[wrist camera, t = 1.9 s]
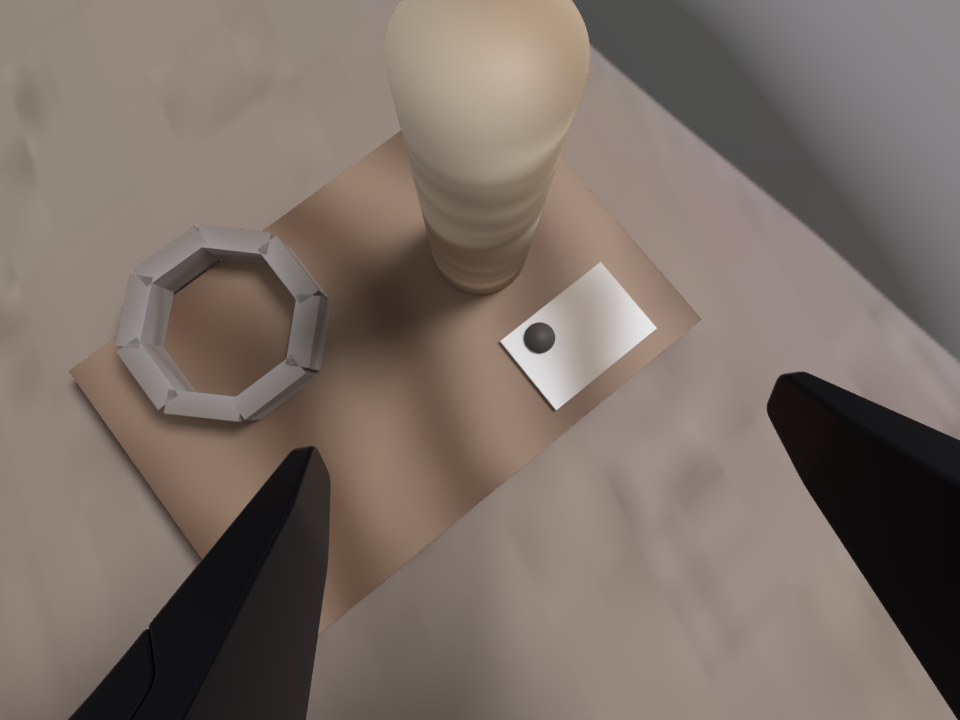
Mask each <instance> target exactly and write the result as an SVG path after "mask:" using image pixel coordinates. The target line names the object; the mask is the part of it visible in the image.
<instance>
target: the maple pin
mask: <svg viewBox="0 0 960 720" xmlns="http://www.w3.org/2000/svg"><path fill="white" fill-rule="evenodd" d="M384 58H385V67H386V72H387V76H388V80H389V84H390V88H391V92H392V96H393V100H394V104H395V108H396V112H397V116H398V120H399V124H400V128H401V132H402V136H403V140H404V144H405V148H406V152H407V156H408V160H409V163H410V167H411V171H412V175H413V179H414V183H415V187H416V191H417V195H418V199H419V203H420V207H421V211H422V215H423V219H424V223H425V227H426V231H427V235H428V239H429V243H430V247H431V251H432V255H433V258H434V262H435V265H436V268H437V270H438V272H439V273H440V275H441V276H442V278H443V279H444V280H445V281H446V282H447V283H448V284H449V285H451V286H452V287H454V288H455V289H457V290H459V291H461V292H464V293H467V294H471V295H489V294H493V293H496V292H499V291H501V290H503V289H505V288H506V287H508V286H509V285H510V284H511V283H512V282H514V280H515V279H516V278H517V277H518V275H519V274H520V272H521V270H522V268H523V266H524V263H525V260H526V257H527V254H528V251H529V248H530V246H531V243H532V240H533V237H534V234H535V231H536V228H537V225H538V222H539V219H540V216H541V213H542V210H543V207H544V204H545V201H546V198H547V195H548V192H549V189H550V186H551V183H552V181H553V178H554V175H555V172H556V169H557V166H558V163H559V160H560V157H561V154H562V151H563V148H564V145H565V142H566V139H567V136H568V133H569V130H570V127H571V124H572V121H573V118H574V115H575V113H576V110H577V107H578V104H579V101H580V98H581V95H582V92H583V89H584V86H585V83H586V80H587V76H588V72H589V66H590V45H589V37H588V34H587V30H586V26H585V24H584V22H583V19H582V17H581V15H580V13H579V11H578V9H577V8H576V6H575V4H574V3H573V2H572V1H571V0H401V2H400V3H399V4H398V6H397V8H396V10H395V11H394V13H393V15H392V17H391V20H390V23H389V25H388V28H387V33H386V37H385V46H384Z"/></svg>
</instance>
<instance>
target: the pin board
mask: <svg viewBox="0 0 960 720" xmlns="http://www.w3.org/2000/svg"><path fill="white" fill-rule="evenodd" d="M219 259H223V260H222V261H220V262H219V263H217V264H216V265H215V266H213V267H212V268H211V269H209V270H208V271H206V272H205V273H204V274H202V275H201V276H200V277H198V278H197V279H195V280H194V281H193V282H191V283H190V284H188V285H187V286H186V287H184V288H183V289H182V290H180V291H179V292H177V293H176V294H175V295H174V292H175V291H177V290H178V289H179V288H181V287H182V286H184V285H185V284H186V283H188V282H189V281H190V280H192V279H193V278H195V277H196V276H197V275H199V274H200V273H202V272H203V271H204V270H206V269H207V268H208V267H210V266H211V265H213V264H214V263H215V262H217V261H218V260H219ZM134 271H135V272H136V273H137V275H130V276H129V280H128V285H127V290H126V295H125V300H124V304H123V309H122V314H121V319H120V324H119V328H118V333H117V337H115V338H114V339H112V340H111V341H110V342H108V343H107V344H106V345H104V346H103V347H101V348H100V349H99V350H97V351H96V352H94V353H93V354H92V355H90V356H89V357H88V358H86V359H85V360H83V361H82V362H81V363H79V364H78V365H77V366H75V367H74V368H72V369H71V370H70V371H69V372H70V374H71V375H72V377H73V378H74V379H75V381H76V382H77V384H78V385H79V386H80V388H81V389H82V391H83V392H84V393H85V395H86V396H87V398H88V399H89V401H90V402H91V403H92V405H93V406H94V408H95V409H96V410H97V412H98V413H99V415H100V416H101V418H102V419H103V420H104V422H105V423H106V425H107V426H108V427H109V429H110V430H111V432H112V433H113V435H114V436H115V437H116V439H117V440H118V442H119V443H120V444H121V446H122V447H123V449H124V450H125V452H126V453H127V454H128V456H129V457H130V459H131V460H132V461H133V463H134V464H135V466H136V467H137V469H138V470H139V471H140V473H141V474H142V476H143V477H144V478H145V480H146V481H147V483H148V484H149V485H150V487H151V488H152V490H153V491H154V493H155V494H156V495H157V497H158V498H159V500H160V501H161V502H162V504H163V505H164V507H165V508H166V510H167V511H168V512H169V514H170V515H171V517H172V518H173V519H174V521H175V522H176V524H177V525H178V527H179V528H180V529H181V531H182V532H183V534H184V535H185V536H186V538H187V539H188V541H189V542H190V544H191V545H192V546H193V548H194V549H195V551H196V552H197V553H198V555H199V556H200V558H201V559H203V558H204V557H205V556H206V554H207V553H208V552H209V551H210V549H211V548H212V547H213V546H214V544H215V543H216V542H217V541H218V540H219V538H220V537H221V536H222V535H223V533H224V532H225V531H226V530H227V529H228V527H229V526H230V525H231V524H232V522H233V521H234V520H235V519H236V518H237V516H238V515H239V514H240V513H241V511H242V510H243V509H244V508H245V506H246V505H247V504H248V503H249V502H250V500H251V499H252V498H253V497H254V495H255V494H256V493H257V492H258V491H259V489H260V488H261V487H262V486H263V484H264V483H265V482H266V481H267V479H268V478H269V477H270V476H271V475H272V473H273V472H274V471H275V470H276V468H277V467H278V466H279V465H280V464H281V462H282V461H283V460H284V459H285V457H286V456H287V455H288V454H289V453H290V451H292V450H293V449H295V448H301V447H307V446H315V447H316V448H317V449H318V450H319V452H320V455H321V457H322V459H323V461H324V463H325V465H326V467H327V469H328V472H329V475H330V480H331V494H330V530H329V558H328V568H327V576H326V583H325V589H324V596H323V603H322V610H321V617H320V624H319V631H318V635H319V634H320V633H321V632H323V631H324V630H325V629H326V628H327V627H329V626H330V625H331V624H332V623H333V622H335V621H336V620H337V619H338V618H340V617H341V616H342V615H343V614H344V613H346V612H347V611H348V610H349V609H350V608H352V607H353V606H354V605H355V604H357V603H358V602H359V601H360V600H361V599H363V598H364V597H365V596H366V595H367V594H369V593H370V592H371V591H372V590H374V589H375V588H376V587H377V586H378V585H380V584H381V583H382V582H383V581H384V580H386V579H387V578H388V577H389V576H391V575H392V574H393V573H394V572H395V571H397V570H398V569H399V568H400V567H401V566H403V565H404V564H405V563H406V562H408V561H409V560H410V559H411V558H412V557H414V556H415V555H416V554H417V553H418V552H420V551H421V550H422V549H423V548H425V547H426V546H427V545H428V544H429V543H431V542H432V541H433V540H434V539H435V538H437V537H438V536H439V535H440V534H442V533H443V532H444V531H445V530H446V529H448V528H449V527H450V526H451V525H452V524H454V523H455V522H456V521H457V520H459V519H460V518H461V517H462V516H463V515H465V514H466V513H467V512H468V511H469V510H471V509H472V508H473V507H474V506H476V505H477V504H478V503H479V502H480V501H482V500H483V499H484V498H485V497H486V496H488V495H489V494H490V493H491V492H493V491H494V490H495V489H496V488H497V487H499V486H500V485H501V484H502V483H503V482H505V481H506V480H507V479H508V478H510V477H511V476H512V475H513V474H514V473H516V472H517V471H518V470H519V469H520V468H522V467H523V466H524V465H525V464H527V463H528V462H529V461H530V460H531V459H533V458H534V457H535V456H536V455H537V454H539V453H540V452H541V451H542V450H544V449H545V448H546V447H547V446H548V445H550V444H551V443H552V442H553V441H554V440H556V439H557V438H558V437H559V436H561V435H562V434H563V433H564V432H565V431H567V430H568V429H569V428H570V427H571V426H573V425H574V424H575V423H576V422H578V421H579V420H580V419H581V418H582V417H584V416H585V415H586V414H587V413H588V412H590V411H591V410H592V409H593V408H595V407H596V406H597V405H598V404H599V403H601V402H602V401H603V400H604V399H605V398H607V397H608V396H609V395H610V394H612V393H613V392H614V391H615V390H616V389H618V388H619V387H620V386H621V385H622V384H624V383H625V382H626V381H627V380H629V379H630V378H631V377H632V376H633V375H635V374H636V373H637V372H638V371H639V370H641V369H642V368H643V367H644V366H646V365H647V364H648V363H649V362H650V361H652V360H653V359H654V358H655V357H656V356H658V355H659V354H660V353H661V352H663V351H664V350H665V349H666V348H667V347H669V346H670V345H671V344H672V343H673V342H675V341H676V340H677V339H678V338H680V337H681V336H682V335H683V334H684V333H686V332H687V331H688V330H689V329H690V328H692V327H693V326H694V325H695V324H697V323H698V322H699V321H700V320H701V318H700V317H699V316H698V314H697V313H696V312H695V311H694V310H693V309H692V307H691V306H690V305H689V304H688V303H687V302H686V300H685V299H684V298H683V297H682V296H681V295H680V293H679V292H678V291H677V290H676V289H675V288H674V287H673V285H672V284H671V283H670V282H669V281H668V280H667V278H666V277H665V276H664V275H663V274H662V273H661V271H660V270H659V269H658V268H657V267H656V266H655V264H654V263H653V262H652V261H651V260H650V259H649V257H648V256H647V255H646V254H645V253H644V252H643V250H642V249H641V248H640V247H639V246H638V245H637V244H636V242H635V241H634V240H633V239H632V238H631V237H630V235H629V234H628V233H627V232H626V231H625V230H624V228H623V227H622V226H621V225H620V224H619V223H618V221H617V220H616V219H615V218H614V217H613V216H612V214H611V213H610V212H609V211H608V210H607V209H606V207H605V206H604V205H603V204H602V203H601V202H600V201H599V199H598V198H597V197H596V196H595V195H594V194H593V192H592V191H591V190H590V189H589V188H588V187H587V185H586V184H585V183H584V182H583V181H582V180H581V178H580V177H579V176H578V175H577V174H576V173H575V171H574V170H573V169H572V168H571V167H570V166H569V164H568V163H567V162H566V161H565V160H564V159H563V158H562V156H561V157H560V160H559V163H558V166H557V169H556V172H555V175H554V178H553V181H552V183H551V186H550V189H549V192H548V195H547V198H546V201H545V204H544V207H543V210H542V213H541V216H540V219H539V222H538V225H537V228H536V231H535V234H534V237H533V240H532V243H531V246H530V248H529V251H528V254H527V257H526V260H525V263H524V266H523V268H522V270H521V272H520V274H519V275H518V277H517V278H516V279H515V280H514V282H512V283H511V284H510V285H509V286H508V287H506V288H505V289H503V290H501V291H499V292H496V293H493V294H489V295H471V294H467V293H464V292H461V291H459V290H457V289H455V288H454V287H452V286H451V285H449V284H448V283H447V282H446V281H445V280H444V279H443V278H442V276H441V275H440V273H439V272H438V270H437V268H436V265H435V262H434V258H433V255H432V251H431V247H430V243H429V239H428V235H427V231H426V227H425V223H424V219H423V215H422V211H421V207H420V203H419V199H418V195H417V191H416V187H415V183H414V179H413V175H412V171H411V167H410V163H409V160H408V156H407V152H406V148H405V144H404V140H403V136H402V132H401V131H400V132H398V133H397V134H396V135H394V136H393V137H392V138H390V139H389V140H387V141H386V142H385V143H383V144H382V145H380V146H379V147H378V148H376V149H375V150H374V151H372V152H371V153H369V154H368V155H367V156H365V157H364V158H363V159H361V160H360V161H358V162H357V163H356V164H354V165H353V166H351V167H350V168H349V169H347V170H346V171H345V172H343V173H342V174H340V175H339V176H338V177H336V178H335V179H334V180H332V181H331V182H329V183H328V184H327V185H325V186H324V187H322V188H321V189H320V190H318V191H317V192H316V193H314V194H313V195H311V196H310V197H309V198H307V199H306V200H305V201H303V202H302V203H300V204H299V205H298V206H296V207H295V208H293V209H292V210H291V211H289V212H288V213H287V214H285V215H284V216H282V217H281V218H280V219H278V220H277V221H275V222H274V223H273V224H271V225H270V226H269V227H267V228H266V229H264V230H263V231H253V230H244V229H236V228H227V227H218V226H209V225H200V227H199V229H197V228H196V227H194V226H193V227H192V228H190V229H189V230H187V231H186V232H185V233H183V234H182V235H180V236H179V237H178V238H176V239H175V240H173V241H172V242H171V243H169V244H168V245H166V246H165V247H164V248H162V249H161V250H159V251H158V252H157V253H155V254H154V255H152V256H151V257H150V258H148V259H147V260H145V261H144V262H143V263H141V264H140V265H138V266H137V267H136V268H134Z"/></svg>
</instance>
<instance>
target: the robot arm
mask: <svg viewBox="0 0 960 720" xmlns="http://www.w3.org/2000/svg"><path fill="white" fill-rule="evenodd" d="M767 413H768V416H769V418H770V420H771V422H772V424H773V426H774V428H775V430H776V432H777V434H778V436H779V438H780V440H781V442H782V444H783V445H784V447H785V449H786V451H787V453H788V455H789V457H790V459H791V461H792V463H793V465H794V467H795V469H796V471H797V473H798V474H799V476H800V478H801V480H802V482H803V483H804V485H805V487H806V488H807V490H808V492H809V493H810V495H811V496H812V498H813V499H814V501H815V502H816V504H817V506H818V507H819V509H820V510H821V512H822V513H823V515H824V516H825V518H826V519H827V521H828V522H829V524H830V525H831V527H832V528H833V530H834V532H835V533H836V535H837V536H838V538H839V539H840V541H841V542H842V544H843V545H844V547H845V548H846V550H847V551H848V553H849V554H850V556H851V558H852V559H853V561H854V562H855V564H856V565H857V567H858V568H859V570H860V571H861V573H862V574H863V576H864V577H865V579H866V580H867V582H868V584H869V585H870V587H871V588H872V590H873V591H874V593H875V594H876V596H877V597H878V599H879V600H880V602H881V603H882V605H883V606H884V608H885V609H886V611H887V613H888V614H889V616H890V617H891V619H892V620H893V622H894V623H895V625H896V626H897V628H898V629H899V631H900V632H901V634H902V635H903V637H904V639H905V640H906V642H907V643H908V645H909V646H910V648H911V649H912V651H913V652H914V654H915V655H916V657H917V658H918V660H919V661H920V663H921V665H922V666H923V668H924V669H925V671H926V672H927V674H928V675H929V677H930V678H931V680H932V681H933V683H934V684H935V686H936V687H937V689H938V690H939V692H940V694H941V695H942V697H943V698H944V700H945V701H946V703H947V704H948V706H949V707H950V709H951V710H952V712H953V713H954V715H955V716H956V718H957V720H960V440H958V439H955V438H953V437H951V436H949V435H946V434H944V433H942V432H940V431H937V430H935V429H933V428H931V427H928V426H926V425H924V424H922V423H919V422H917V421H915V420H913V419H910V418H908V417H906V416H904V415H901V414H899V413H897V412H895V411H892V410H890V409H888V408H885V407H883V406H881V405H879V404H876V403H874V402H872V401H870V400H867V399H865V398H863V397H861V396H858V395H856V394H854V393H852V392H849V391H847V390H845V389H843V388H840V387H838V386H836V385H834V384H831V383H829V382H827V381H825V380H822V379H820V378H818V377H816V376H813V375H811V374H809V373H806V372H793V373H787V374H782V375H781V376H779V377H778V379H777V380H776V383H775V385H774V388H773V390H772V393H771V395H770V398H769V400H768V403H767ZM330 494H331V480H330V475H329V472H328V469H327V467H326V465H325V463H324V461H323V459H322V457H321V455H320V452H319V450H318V449H317V448H316V447H315V446H307V447H301V448H295V449H293V450H292V451H290V453H289V454H288V455H287V456H286V457H285V459H284V460H283V461H282V462H281V464H280V465H279V466H278V467H277V468H276V470H275V471H274V472H273V473H272V475H271V476H270V477H269V478H268V479H267V481H266V482H265V483H264V484H263V486H262V487H261V488H260V489H259V491H258V492H257V493H256V494H255V495H254V497H253V498H252V499H251V500H250V502H249V503H248V504H247V505H246V506H245V508H244V509H243V510H242V511H241V513H240V514H239V515H238V516H237V518H236V519H235V520H234V521H233V522H232V524H231V525H230V526H229V527H228V529H227V530H226V531H225V532H224V533H223V535H222V536H221V537H220V538H219V540H218V541H217V542H216V543H215V544H214V546H213V547H212V548H211V549H210V551H209V552H208V553H207V554H206V556H205V557H204V558H203V559H202V560H201V562H200V563H199V564H198V565H197V567H196V568H195V569H194V570H193V571H192V573H191V574H190V575H189V576H188V578H187V579H186V580H185V581H184V583H183V584H182V585H181V586H180V587H179V589H178V590H177V591H176V592H175V594H174V595H173V596H172V597H171V598H170V600H169V601H168V602H167V603H166V605H165V606H164V607H163V608H162V609H161V611H160V612H159V613H158V614H157V616H156V617H155V618H154V619H153V621H152V622H151V623H150V625H149V629H146V630H144V631H143V633H142V634H141V635H140V636H139V637H138V639H137V640H136V641H135V642H134V644H133V645H132V646H131V647H130V648H129V650H128V651H127V652H126V653H125V655H124V656H123V657H122V658H121V659H120V660H119V662H118V663H117V664H116V665H115V666H114V668H113V669H112V670H111V671H110V672H109V674H108V675H107V676H106V677H105V678H104V679H103V681H102V682H101V683H100V684H99V685H98V687H97V688H96V689H95V690H94V691H93V692H92V694H91V695H90V696H89V697H88V698H87V699H86V700H85V701H84V702H83V704H82V705H81V706H80V707H79V708H78V709H77V710H76V711H75V712H74V714H73V715H72V716H71V717H70V718H69V719H68V720H306V714H307V707H308V700H309V693H310V687H311V680H312V673H313V666H314V659H315V652H316V645H317V638H318V631H319V624H320V617H321V610H322V603H323V596H324V589H325V583H326V576H327V568H328V558H329V530H330Z"/></svg>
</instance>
